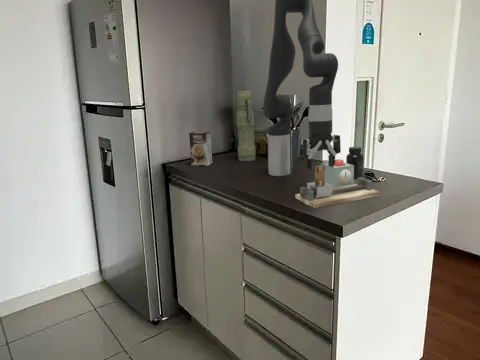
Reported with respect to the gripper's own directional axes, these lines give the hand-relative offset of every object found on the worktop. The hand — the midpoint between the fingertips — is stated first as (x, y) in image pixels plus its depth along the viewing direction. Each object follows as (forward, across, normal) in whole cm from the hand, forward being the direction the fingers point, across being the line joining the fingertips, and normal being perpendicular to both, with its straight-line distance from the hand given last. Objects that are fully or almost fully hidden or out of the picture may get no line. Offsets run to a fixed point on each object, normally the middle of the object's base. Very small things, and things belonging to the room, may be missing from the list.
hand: (320, 168), depth 129 cm
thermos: (+11, -4, -73) cm, 74 cm away
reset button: (+5, -16, -12) cm, 21 cm away
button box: (+11, -16, -12) cm, 23 cm away
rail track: (+11, -7, 0) cm, 13 cm away
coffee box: (+11, +19, -76) cm, 79 cm away
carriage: (+9, 0, 0) cm, 9 cm away
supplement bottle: (+11, -29, -19) cm, 37 cm away
